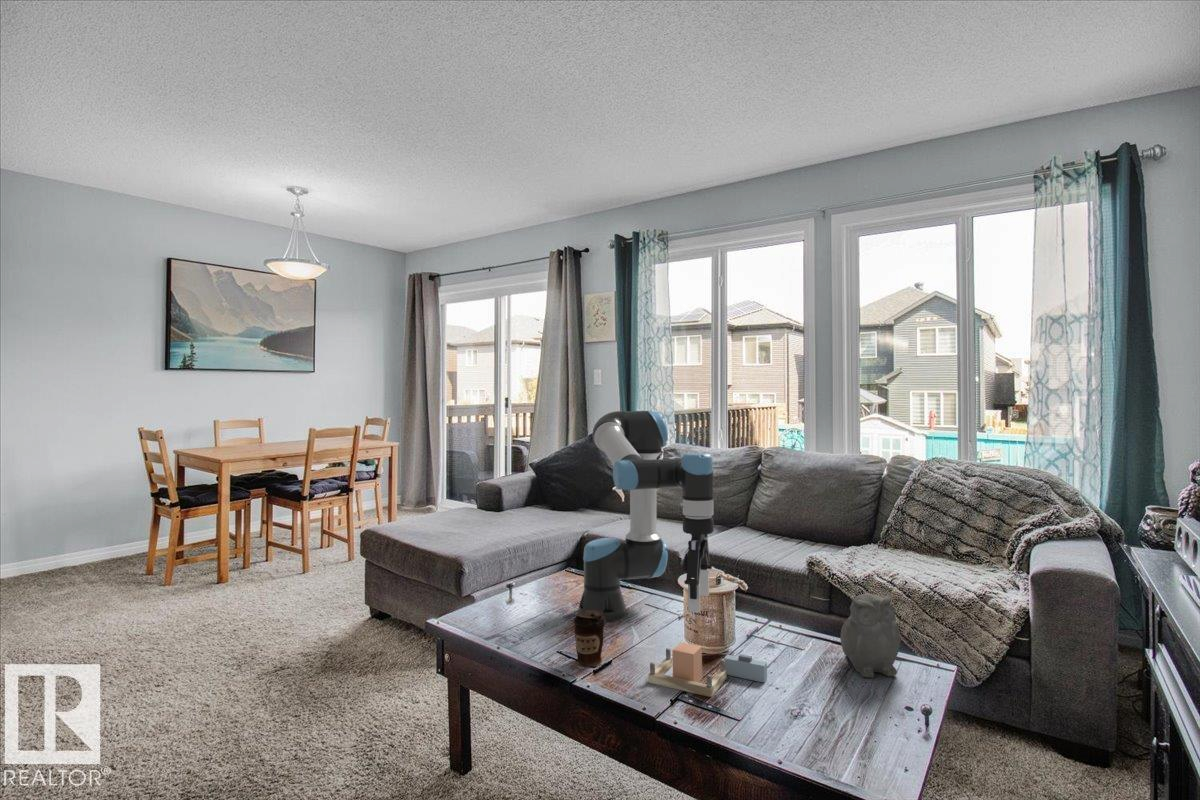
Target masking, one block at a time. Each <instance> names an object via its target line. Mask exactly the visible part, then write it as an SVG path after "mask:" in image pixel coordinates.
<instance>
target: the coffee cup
mask: <svg viewBox="0 0 1200 800" xmlns="http://www.w3.org/2000/svg"><path fill="white" fill-rule="evenodd" d="M605 620H606V618H605V617H604V616H603V612H601V611H597V610H586V611H582V612H579V611H577V613H576V616H575V617H574V619H573V625H574V638H575V650H576V655H577V663H578V665H579V666H583V667H597V666H601V665H602V663H603V661H602V651H603V646H604V635H605V634H604V633H605V632H604V631H605V625H606V621H605Z"/></svg>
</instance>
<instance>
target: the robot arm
mask: <svg viewBox="0 0 1200 800" xmlns="http://www.w3.org/2000/svg"><path fill="white" fill-rule="evenodd" d="M668 434H669V433H668V427H667V422H666V420H665V418H664V416H663V414H662V413H660V412H659V411H652V410H632V411H629V410H628V411H627V410H625V411H620V410H618V411H610V412H608V413H606V414H604V415H602V416H601V417H600V418H599V419H598V420H596V422H595V424H594V426H593V427H592V441H593V443H594V444H595V446H596V447H597V449H599V450H601V451H602V452H604V454H605V455H606V456H607V458H608V460H609V461H610V462H611V464H612V466H613V467H612V480H613V485H614V486H615V488H616V489H618V490H623V491H624V490H626V491H630V492H629V493H630V495H629V499H630V500H629V507H630V508H629V510H630V512H629V531H628V532H627V533H626V534H625V541H623V542H621V540H620V539H619V538H617V537H602V538H596V539H593V540H591V541H589V542H587V543H586V544H585V546H584V549H583V558H582V561H583V586H584V587H583V592H582V595H581V598H580V601H579V605H578V612H582V611H586V610H597V611H601V612H603V616H604V617H605V618H606V620H605V622H611V621H617V620H619V619H622V618H624V617H625V616H626V615H627V614H626V613H627V606H626V603H625V600H624V596H623V594H622V590H621V581H622V580H638V579H651V578H657V577H661V576H662V575H663V574H664V573H665V571H666V568H667V565H668V564H667V563H668V546H667V543H666V542H665V541H664V540H663V539H662V535H661V534H660V532H658V531H657V528H658V527H657V524H658V523H657V518H658V517H657V512H658V511H657V499H658V498H657V495H658V493H657V490H658V489H676V488H677V489H678V488H679V489H681V490H682V491H681V492H682V502H681V501H680V506H681V507H682V515H683V518H682V532H684V534H688V535H691V539H690V540H688V542H687V545H688V546H687V548H688V553H687V564H686V565H687V567H686V579H685V580H684V585H687V608H688V609H687V611H688V613H695V614H696V613H697V614H701V596H702V597H703V596H704V597H710V572H709V571H710V570H712V568H713V566H712V564H711V561H710V551H709V549H710V548H709V542H708V538H709V537H708V535H710V534H713V533H714V530H715V529H714V527H715V526H714V522H715V521H714V518H713V517H712V516H714V514H715V513H714V508H715V507H714V505H715V504H714V465H713V464H714V463H713V457H712V455H711V454H709V453H707V452H706V453H705V452H704V453H703V452H702V453H701V452H695V453H694V452H693V453H691V452H690V453H689V452H688V453H685V454H683V455H682V457H674V458H671V459H670V458H668V459H667V458H665V459H657V458H658V457H659V456H660V455H661V454H662V448H664V447H666V446H667V444H668V440H669V435H668Z"/></svg>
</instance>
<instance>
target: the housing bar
mask: <svg viewBox="0 0 1200 800" xmlns="http://www.w3.org/2000/svg"><path fill="white" fill-rule="evenodd" d="M723 659H724V660H725V670H727V676H732V677H735V678H741V679H745V680H750V681H756V682H759V683H760V682H761V683H766V681H767V679H768V664H767V663H768V662H766V661H763V660H758V659H757V660H756V659H753V656H751V655H747V654H739V655H738V656H736V655H732V654H726V656H725V657H724V658H723Z"/></svg>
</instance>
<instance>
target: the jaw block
mask: <svg viewBox="0 0 1200 800" xmlns="http://www.w3.org/2000/svg"><path fill="white" fill-rule="evenodd" d="M671 656H672V677H676V678H680V679H685V680H689V681H694V682H698V683H701V681H702V680H703V646H702V645H696V644H692V643H691V644H690V643H687V642H682V641H681V642H680V643H679V644H677V646H675V647H674V648H673V649H672V655H671Z"/></svg>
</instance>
